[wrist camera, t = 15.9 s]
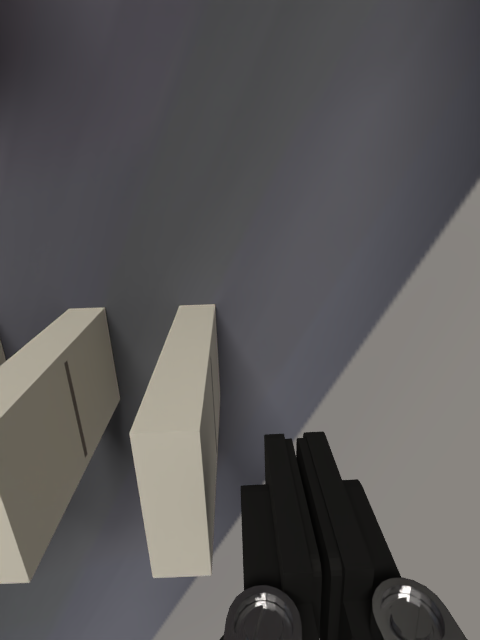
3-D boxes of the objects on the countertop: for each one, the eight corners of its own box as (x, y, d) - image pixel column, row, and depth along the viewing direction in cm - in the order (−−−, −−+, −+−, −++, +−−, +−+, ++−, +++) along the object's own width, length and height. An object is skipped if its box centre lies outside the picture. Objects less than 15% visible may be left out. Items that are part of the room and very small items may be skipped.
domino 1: (105, 307, 17) (-19, 438, 9) (120, 399, 19) (30, 582, 10) (69, 308, 17) (-91, 440, 9) (87, 400, 19) (-30, 584, 10)
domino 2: (215, 304, 17) (199, 430, 9) (220, 395, 19) (211, 575, 10) (179, 305, 17) (128, 433, 9) (187, 397, 19) (153, 577, 10)
